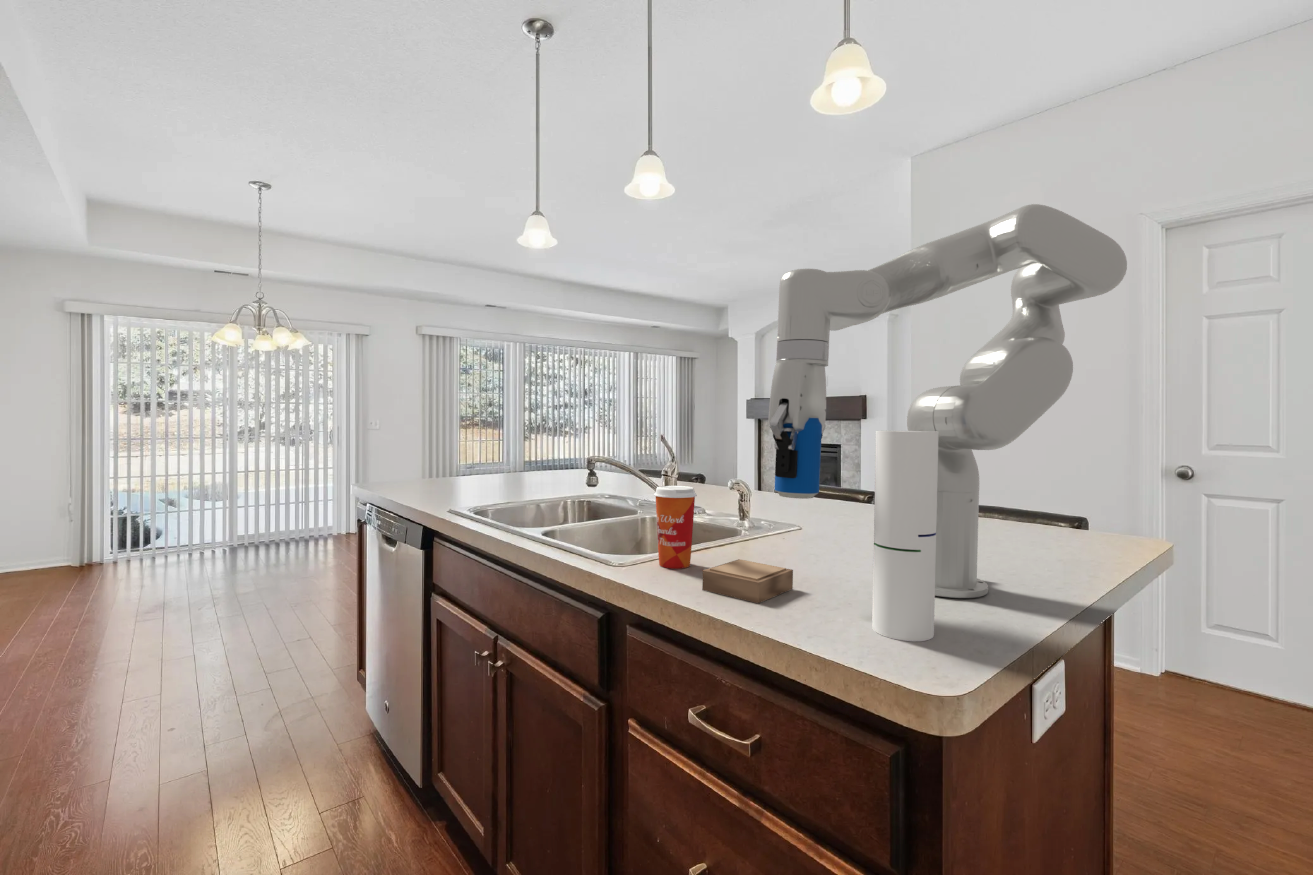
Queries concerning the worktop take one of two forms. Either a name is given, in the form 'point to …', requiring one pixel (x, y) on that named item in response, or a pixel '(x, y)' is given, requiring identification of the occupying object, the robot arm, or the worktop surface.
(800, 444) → the beverage can
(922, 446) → the cylindrical container
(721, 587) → the plinth
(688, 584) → the worktop surface
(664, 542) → the paper cup
